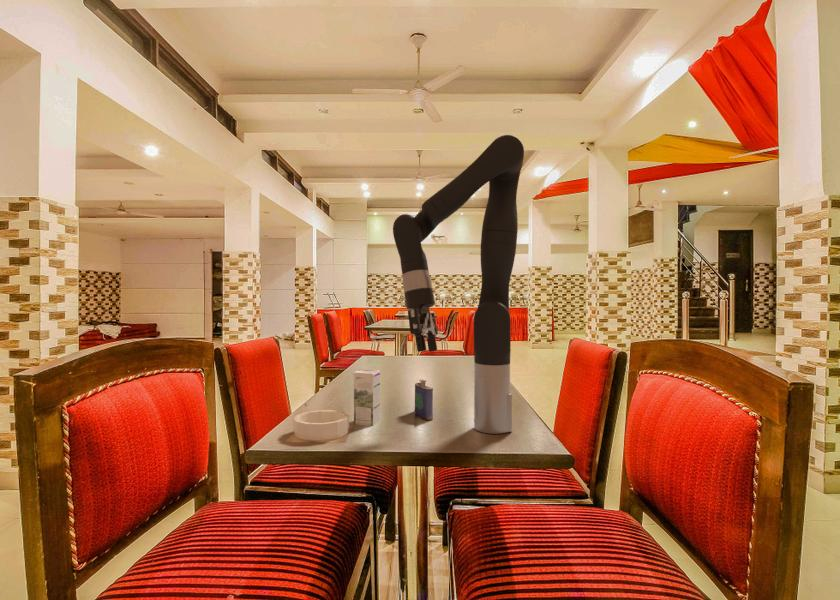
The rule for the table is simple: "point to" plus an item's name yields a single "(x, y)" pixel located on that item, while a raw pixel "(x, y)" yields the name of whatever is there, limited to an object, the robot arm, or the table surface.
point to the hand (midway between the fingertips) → (427, 351)
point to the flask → (423, 401)
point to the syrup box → (366, 397)
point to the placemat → (342, 439)
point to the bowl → (321, 425)
